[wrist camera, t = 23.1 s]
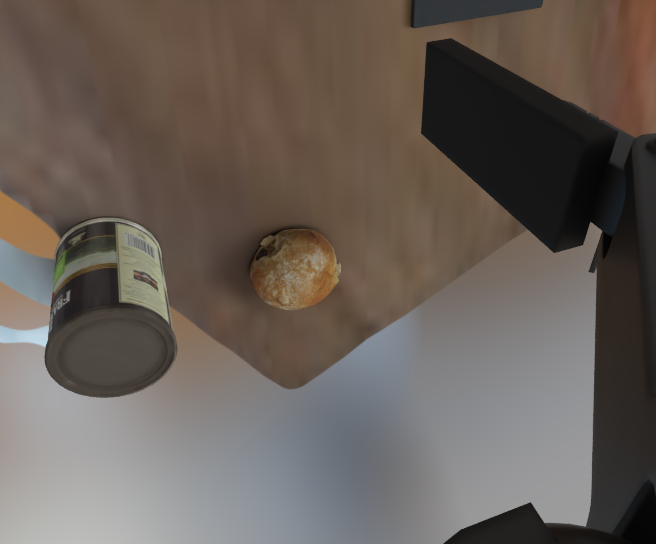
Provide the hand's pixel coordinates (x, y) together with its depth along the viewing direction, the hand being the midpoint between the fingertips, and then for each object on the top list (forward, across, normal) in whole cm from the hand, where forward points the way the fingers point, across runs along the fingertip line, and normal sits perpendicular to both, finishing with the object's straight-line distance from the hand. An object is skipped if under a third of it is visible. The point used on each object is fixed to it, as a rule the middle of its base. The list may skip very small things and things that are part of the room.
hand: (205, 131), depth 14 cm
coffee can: (+35, -10, -27) cm, 45 cm away
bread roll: (+35, +9, -33) cm, 49 cm away
